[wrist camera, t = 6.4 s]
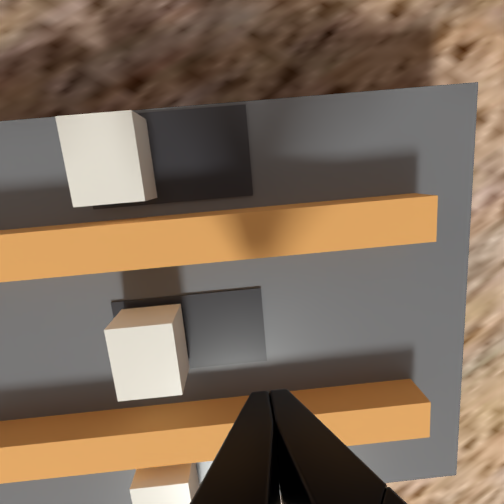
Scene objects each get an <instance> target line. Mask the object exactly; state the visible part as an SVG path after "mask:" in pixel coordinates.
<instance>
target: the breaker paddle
mask: <svg viewBox="0 0 504 504" xmlns="http://www.w3.org/2000/svg"><path fill="white" fill-rule="evenodd" d="M104 333H105V338H106V344H107V349H108V354H109V359H110V364H111V369H112V374H113V379H114V385H115V390H116V395H117V400H118V402H119V401H128V400H138V399H148V398H157V397H167V396H177V395H183V391H184V387H185V383H186V379H187V375H188V371H189V360H188V353H187V346H186V339H185V331H184V324H183V317H182V310H181V304H171V305H161V306H151V307H140V308H130V309H121V311H120V312H119V313H118V314H117V315H116V316H115V318H114V319H113V320H112V321H111V322H110V323H109V325H108V326H107V327H106V328H105V329H104Z"/></svg>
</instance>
